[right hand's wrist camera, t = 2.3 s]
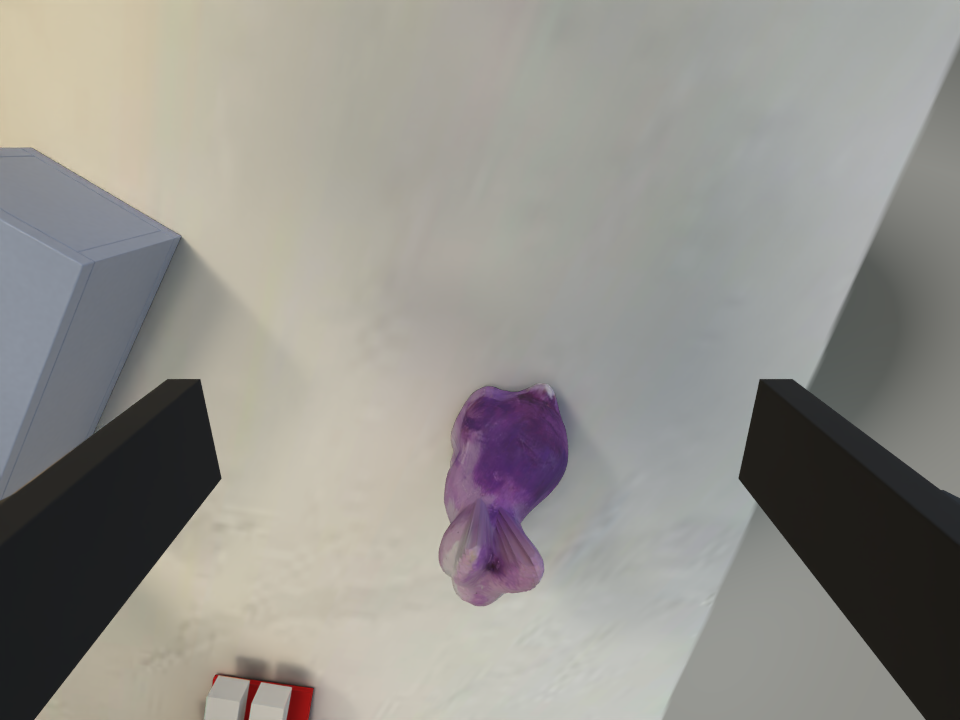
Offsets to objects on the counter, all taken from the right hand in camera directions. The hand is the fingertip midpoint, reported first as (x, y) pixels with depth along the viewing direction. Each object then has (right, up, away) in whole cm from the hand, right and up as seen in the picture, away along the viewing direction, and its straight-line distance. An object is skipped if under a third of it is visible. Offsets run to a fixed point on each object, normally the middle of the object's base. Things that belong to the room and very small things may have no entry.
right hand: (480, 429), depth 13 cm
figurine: (+2, -5, +28) cm, 29 cm away
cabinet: (-29, +5, +24) cm, 38 cm away
